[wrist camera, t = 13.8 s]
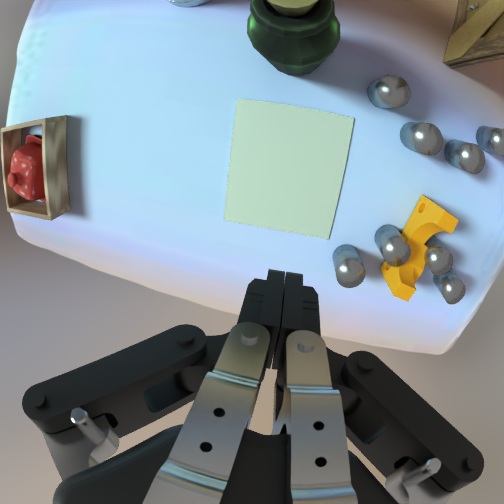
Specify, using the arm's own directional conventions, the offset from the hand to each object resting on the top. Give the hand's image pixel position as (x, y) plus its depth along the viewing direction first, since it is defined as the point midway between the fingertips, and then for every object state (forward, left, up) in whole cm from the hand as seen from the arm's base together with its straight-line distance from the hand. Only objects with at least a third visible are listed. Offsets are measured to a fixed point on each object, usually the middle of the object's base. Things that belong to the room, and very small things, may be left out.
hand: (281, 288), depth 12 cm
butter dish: (+2, -44, -24) cm, 50 cm away
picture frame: (-30, +20, -24) cm, 43 cm away
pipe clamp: (+4, +18, -24) cm, 30 cm away
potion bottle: (-16, -2, -24) cm, 29 cm away
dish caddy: (+1, -44, -24) cm, 50 cm away
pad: (-1, -1, -24) cm, 24 cm away
